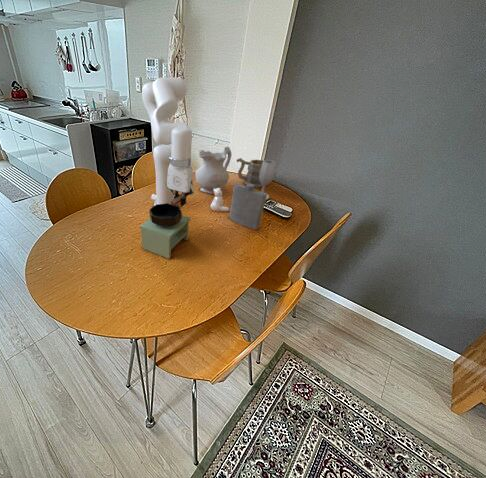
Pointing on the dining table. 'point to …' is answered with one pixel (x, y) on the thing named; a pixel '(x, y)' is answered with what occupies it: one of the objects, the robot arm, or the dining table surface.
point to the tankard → (251, 172)
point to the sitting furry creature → (218, 201)
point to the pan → (166, 213)
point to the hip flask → (247, 206)
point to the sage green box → (163, 236)
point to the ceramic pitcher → (213, 170)
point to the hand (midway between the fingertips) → (179, 204)
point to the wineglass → (266, 174)
